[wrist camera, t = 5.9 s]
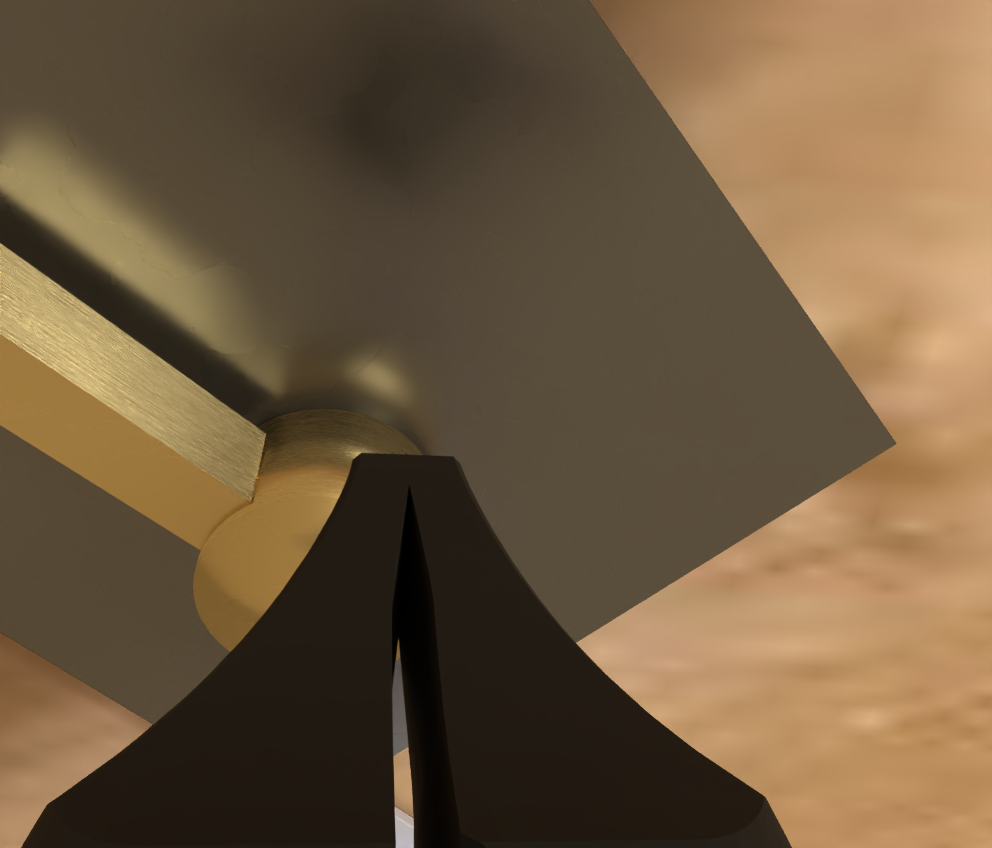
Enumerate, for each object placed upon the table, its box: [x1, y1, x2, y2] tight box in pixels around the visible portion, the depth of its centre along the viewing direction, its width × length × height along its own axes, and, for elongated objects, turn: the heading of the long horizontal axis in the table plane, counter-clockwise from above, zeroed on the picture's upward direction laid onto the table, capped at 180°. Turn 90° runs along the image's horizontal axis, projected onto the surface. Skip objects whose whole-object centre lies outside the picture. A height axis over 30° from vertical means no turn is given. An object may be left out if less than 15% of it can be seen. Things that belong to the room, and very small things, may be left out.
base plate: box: [0, 0, 896, 756], centre depth 21 cm, size 20×20×3 cm
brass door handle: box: [0, 243, 423, 660], centre depth 19 cm, size 12×5×3 cm, turn 44°
